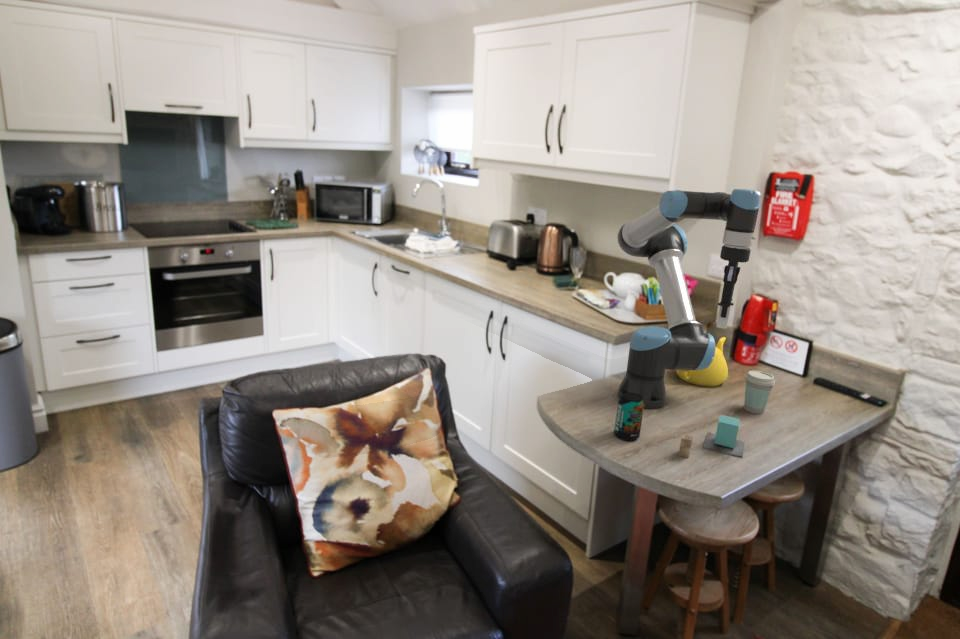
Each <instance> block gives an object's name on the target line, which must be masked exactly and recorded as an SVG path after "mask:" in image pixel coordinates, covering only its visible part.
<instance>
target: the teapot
mask: <svg viewBox="0 0 960 639" xmlns="http://www.w3.org/2000/svg"><path fill="white" fill-rule="evenodd" d="M726 339H727V338H726V337H725V336H722V337H720V338H719V340H718V342H717V343H716V344H715V346H716V349H715V355H714V359H713V361H712V363H711V364H710V366H709V367H707V368H706V369H702V370H694V371H693V370H675V372H676V374H677V375H678V377H679V378H680V379H681V380H683V381H685V382H687V383H689V384H692V385H696V386H701V387H718V386H719V385H721V384H723V383H725V382H726V381H727V379H728V376H729V368H728V363H727V361H726V358H725V356H724V344H725V341H726Z"/></svg>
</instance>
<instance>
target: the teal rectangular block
mask: <svg viewBox="0 0 960 639" xmlns="http://www.w3.org/2000/svg"><path fill="white" fill-rule="evenodd" d="M740 423H741V418H735V417H732V416H727V415H723V414H720V415H719V418H718V422H717V427H716V433H715V434H716V437H715V442H714V443H715V444H719V445H723V446H727V447H730V448H734V447H735V442H736V440H737V437H738V432H739V428H740Z"/></svg>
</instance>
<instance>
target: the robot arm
mask: <svg viewBox="0 0 960 639" xmlns="http://www.w3.org/2000/svg"><path fill="white" fill-rule="evenodd" d="M760 202H761V192H760V191H758V190H754V189H746V188H734V189H732V191H731V193H730V194H729V193H726V192H721V191H714V192H709V191H708V192H705V191H704V192H703V191H702V192H701V191H691V190H680V189H674V190H666V191H665V192H664V193H662V196H661V197H660V199H659V204H658V205H656V206H654V207H653V208H651V209H650V210H649V211H647V212H646V213H645V214H643V215H641V216H640V217H638V218H637V219H630V220H629V221H626V222H625V223H624V224H623V225H622V226H621V227H620V228H619V230H618V232H617V243H618V245H619V247H620V249H621V250H622V251H623V252H624V253H626V254H628V255H629V256H631V257H636V258H647V260H648V265H649V266H650V267H652V268H653V269H655V273H656V274H655V275H656V279H657V282H658V285H659V286H658V287H659V291H660V295H661V299H662V304H663V308H664V312H665V316H666V320H667V325H668V328H667V327H666V328H665V327H663V326H655V325H654V326H652V325H651V326H643V327H639V328H637V329H636V330H635V331H633V332H632V335H631V339H630V342H629V350H628V351H629V352H628V356H627V364H626V373H625V374H624V377H623V378H622V381H621V383H620V384H619V387H618V389H617V395H616V396H617V398H618V400H619V399H620V398H621V395H622V394H623V393H627V392H630V393H636V394H638V395H640V396H642V397H643V402H644V409H645V410H647V409H648V410H650V409H651V410H654V409H660V408H663V407H665V405H666V402H667V392H666V387H665V380H664V379H665V372H666V370H667V371H668V370H669V371H672V370H674V371H676V370H693V371H694V370H702V369H706V368H707V367H709V366H710V364H711V363H712V361H713V359H714V355H715V349H716V340H715V337H714V336H713V335H712V334H711V333H708V332H705V330H704V327H703V324H702V323H700V322H699V321H697V319H696V316H695V311H694V308H693V304H692V300H691V296H690V294H689V289H688V285H687V282H686V278H685V274H684V270H683V266H682V262H681V261H682V260H683V259H684V257H685V254H686V252H687V250H688V245H687V244H688V238H687V234H686V232H685V231H684V229H683V228H682V227H681V226H679V225H677V224H678V223H679V222H682V221H683V220H684V219H685V220H686V219H697V220H716V221H717V220H718V221H723V222H726V223H725V228H724V231H723V232H724V233H723V237H722V244H724V245H722V246H721V250H720V255H719V257H720V259H721V260H723V261H728V264H727V265H725V266H724V268H723V273H724V275H723V280H722V281H723V288H722V293H721V300H720V301H719V302H718V303H717V306H719V310H718V316H717V321H716V328H719V329H724V330H727V328H728V323H729V317H730V312H731V307H732V306H734V305H735V303H734V302H732V301H733V296H734V290H735V287H736V284H737V281H738V279H739V278H738V277H739V274H740V272H741V267H740V266H739V263H748V262H749V260H750V256H751V248H750V247H752V245H753V241H754V240H756V236H755V235H754V234H755V229H756V225H757V221H758V220H757V219H758V217H759V216H758V215H759V210H760V207H761V205H760V204H761V203H760Z"/></svg>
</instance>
